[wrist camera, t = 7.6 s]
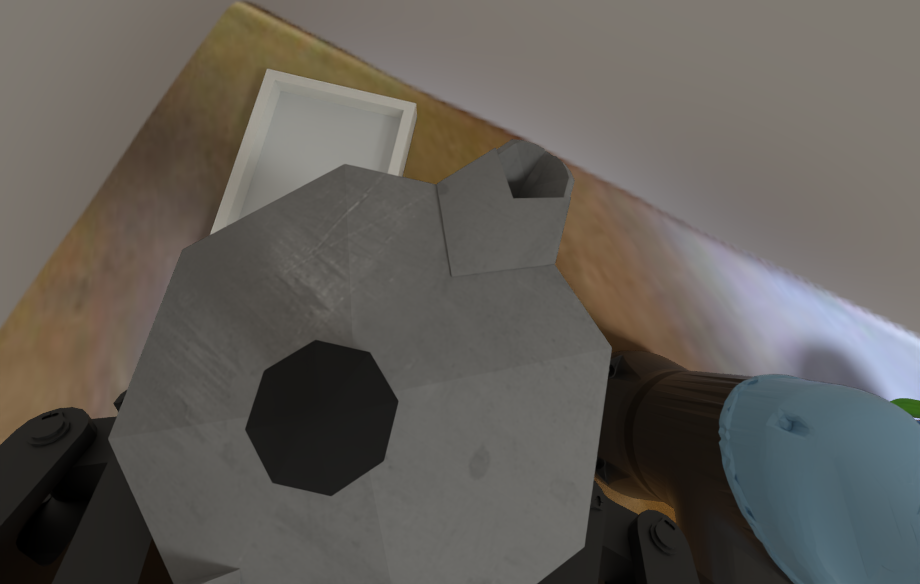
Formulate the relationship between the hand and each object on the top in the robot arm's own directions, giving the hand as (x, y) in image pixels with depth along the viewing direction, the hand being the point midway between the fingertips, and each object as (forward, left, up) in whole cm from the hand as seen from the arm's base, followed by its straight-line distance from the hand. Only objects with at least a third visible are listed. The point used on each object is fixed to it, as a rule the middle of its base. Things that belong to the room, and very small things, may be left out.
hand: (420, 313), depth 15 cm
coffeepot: (0, +3, -7) cm, 8 cm away
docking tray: (+16, -14, -24) cm, 32 cm away
